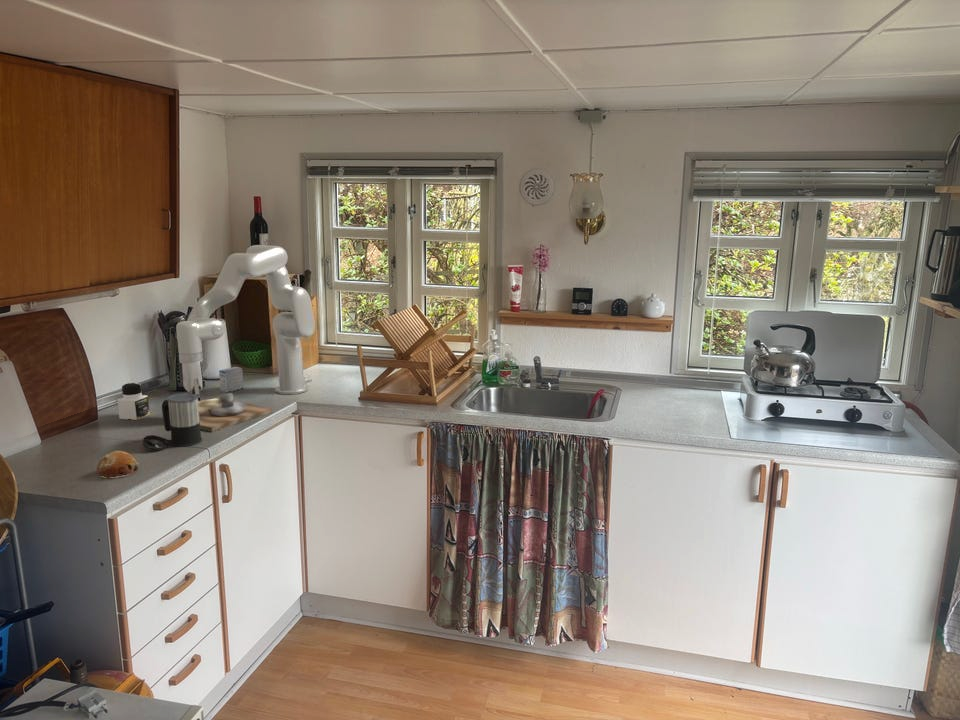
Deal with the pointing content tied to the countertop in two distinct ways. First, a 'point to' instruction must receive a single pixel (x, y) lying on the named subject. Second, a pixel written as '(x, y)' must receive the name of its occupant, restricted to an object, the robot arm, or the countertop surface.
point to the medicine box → (231, 379)
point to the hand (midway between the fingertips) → (196, 408)
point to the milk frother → (178, 422)
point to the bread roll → (117, 464)
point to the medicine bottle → (133, 402)
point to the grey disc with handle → (222, 405)
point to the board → (230, 417)
